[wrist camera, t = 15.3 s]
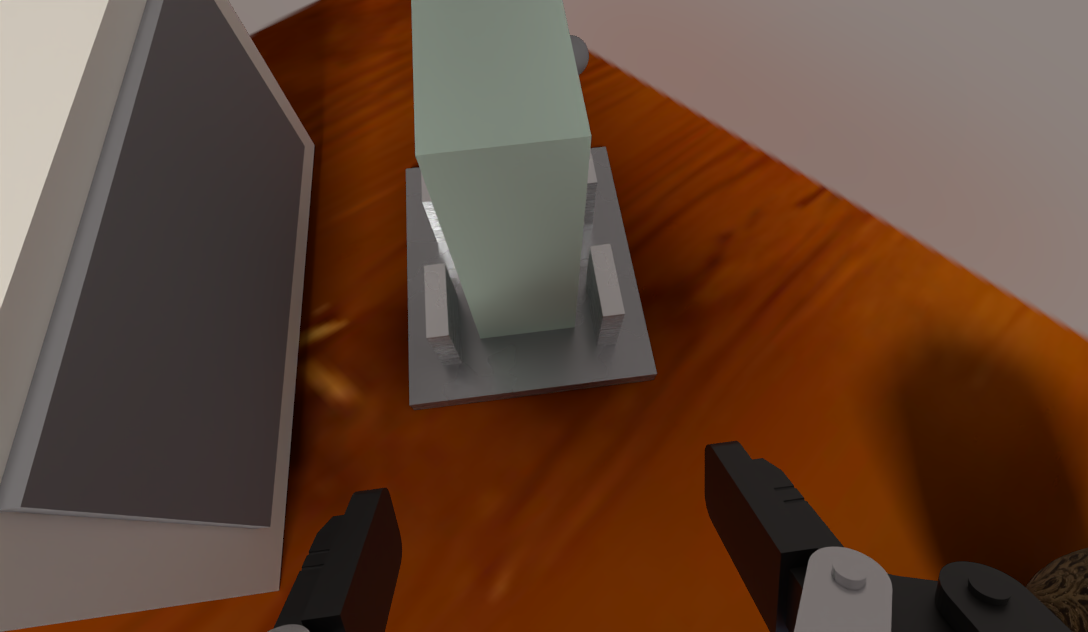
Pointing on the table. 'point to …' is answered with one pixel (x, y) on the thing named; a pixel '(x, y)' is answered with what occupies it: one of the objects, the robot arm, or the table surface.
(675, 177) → the table surface
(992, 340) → the table surface
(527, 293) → the pale green rectangular box
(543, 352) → the grey holder base
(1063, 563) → the cup
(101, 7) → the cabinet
